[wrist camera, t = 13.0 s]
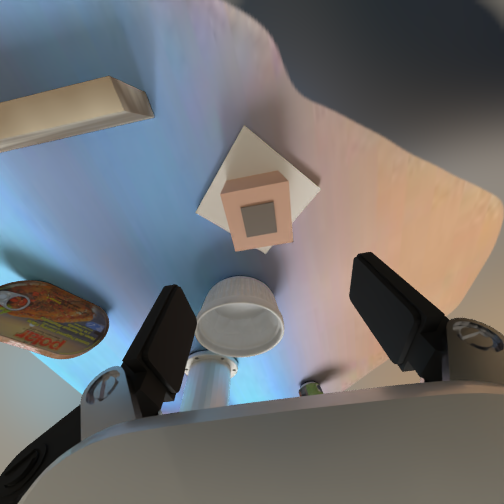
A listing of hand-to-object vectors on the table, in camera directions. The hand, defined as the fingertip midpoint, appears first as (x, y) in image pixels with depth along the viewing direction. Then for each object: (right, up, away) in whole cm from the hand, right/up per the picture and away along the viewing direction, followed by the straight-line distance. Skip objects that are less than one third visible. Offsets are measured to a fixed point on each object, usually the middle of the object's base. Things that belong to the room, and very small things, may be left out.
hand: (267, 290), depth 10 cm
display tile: (0, +9, +13) cm, 16 cm away
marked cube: (0, +8, +12) cm, 15 cm away
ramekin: (-3, -6, +23) cm, 24 cm away
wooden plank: (-22, +15, +9) cm, 28 cm away
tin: (-32, -6, +22) cm, 39 cm away
